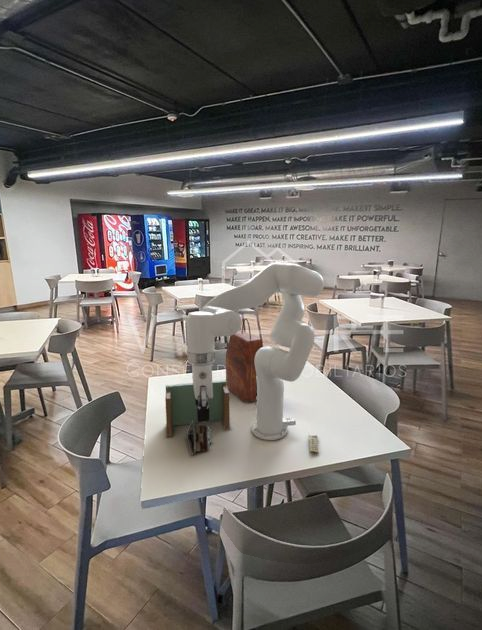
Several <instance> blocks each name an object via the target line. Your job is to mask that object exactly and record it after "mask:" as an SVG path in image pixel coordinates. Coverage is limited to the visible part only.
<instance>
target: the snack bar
mask: <svg viewBox="0 0 482 630" xmlns="http://www.w3.org/2000/svg"><path fill="white" fill-rule="evenodd" d="M308 438H309V439H308V441H309V452H313V453H315V454H319V452H320V451H319V448H318V447H319V446H318V435H316V434H315V435H310V434H308Z"/></svg>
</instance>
